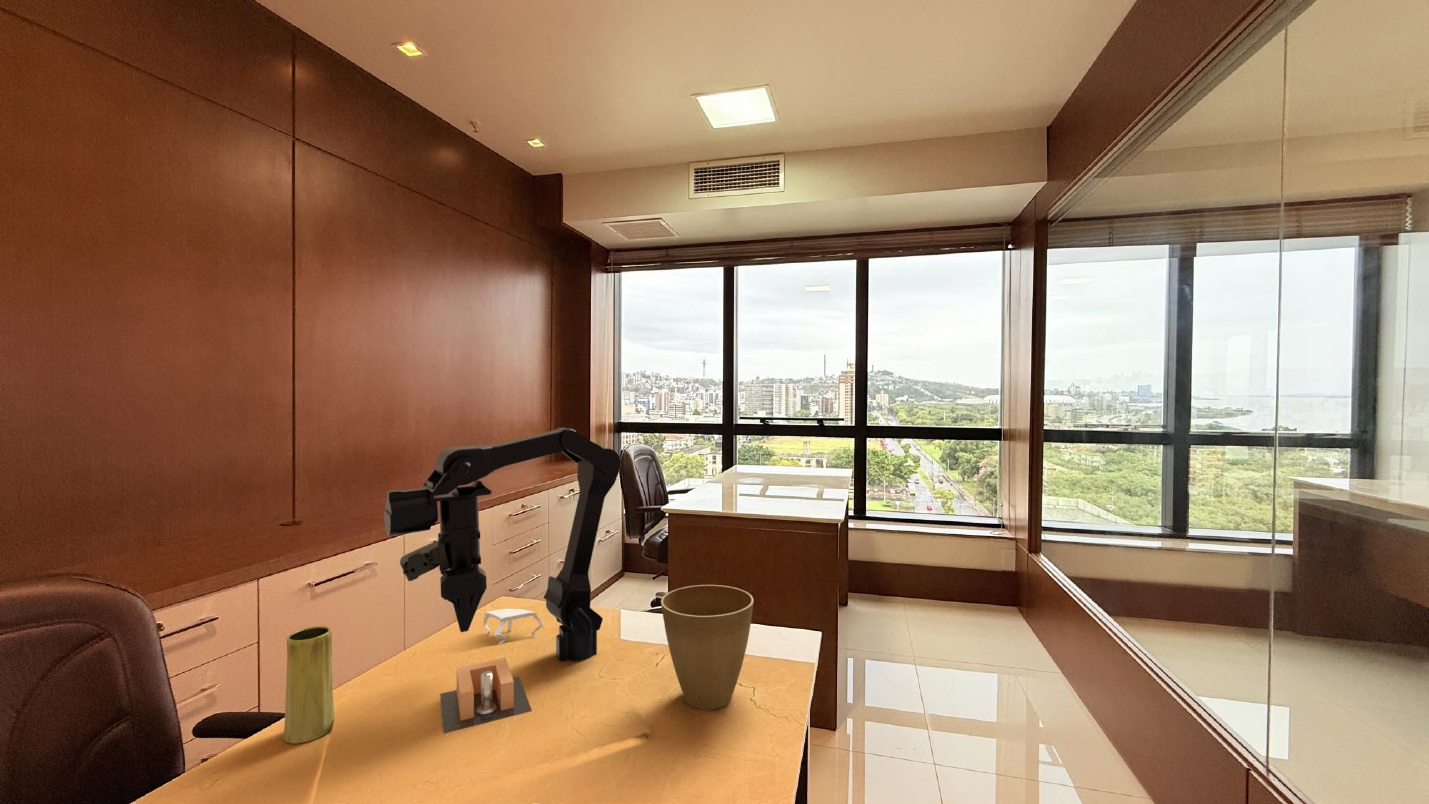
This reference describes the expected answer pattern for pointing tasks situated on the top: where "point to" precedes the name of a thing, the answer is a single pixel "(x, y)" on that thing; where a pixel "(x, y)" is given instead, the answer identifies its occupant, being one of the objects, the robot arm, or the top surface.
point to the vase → (309, 685)
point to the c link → (472, 685)
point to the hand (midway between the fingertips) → (462, 620)
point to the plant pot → (707, 640)
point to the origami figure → (509, 620)
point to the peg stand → (482, 705)
